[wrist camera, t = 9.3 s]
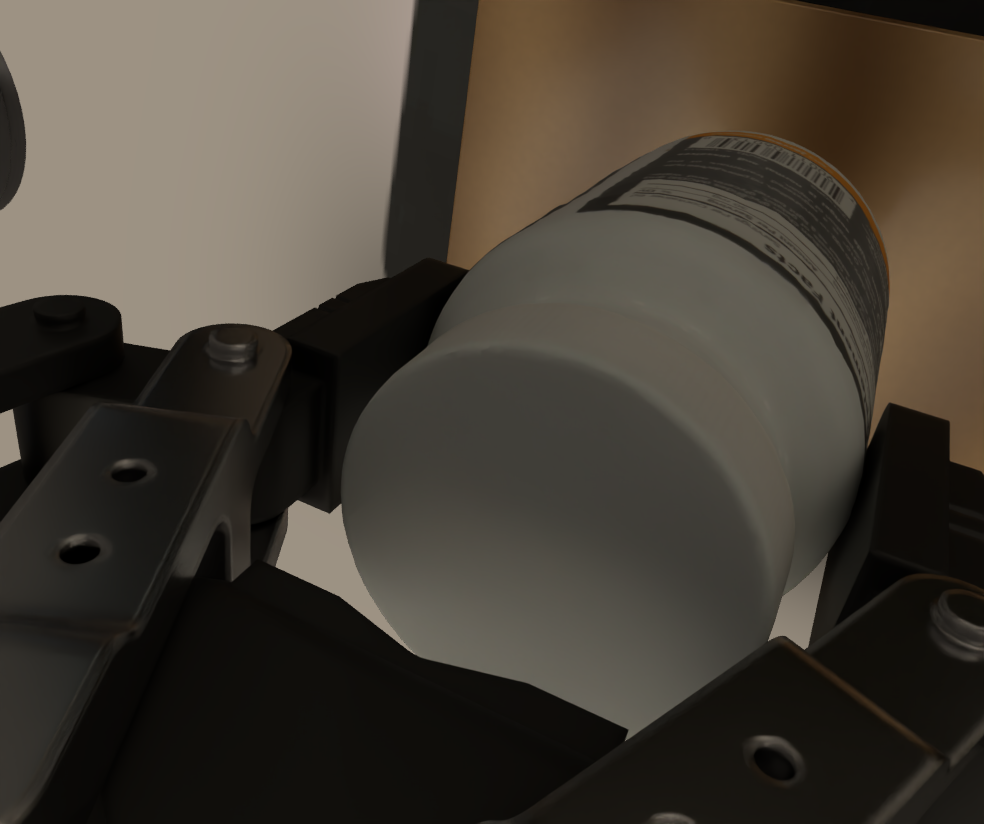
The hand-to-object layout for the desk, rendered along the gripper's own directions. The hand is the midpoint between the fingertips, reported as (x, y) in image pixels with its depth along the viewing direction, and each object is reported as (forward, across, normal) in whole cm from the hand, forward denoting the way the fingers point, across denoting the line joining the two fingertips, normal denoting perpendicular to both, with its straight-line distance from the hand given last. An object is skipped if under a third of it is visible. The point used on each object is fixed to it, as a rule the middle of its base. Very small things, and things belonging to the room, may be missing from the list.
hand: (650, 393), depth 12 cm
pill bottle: (+6, 0, 0) cm, 6 cm away
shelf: (+19, 0, +1) cm, 19 cm away
